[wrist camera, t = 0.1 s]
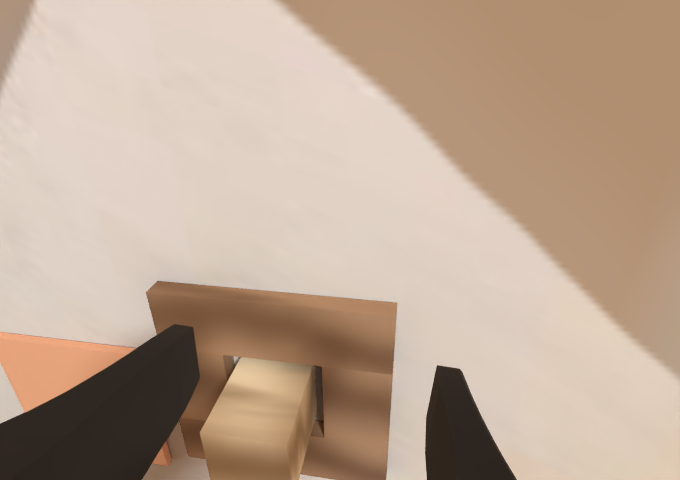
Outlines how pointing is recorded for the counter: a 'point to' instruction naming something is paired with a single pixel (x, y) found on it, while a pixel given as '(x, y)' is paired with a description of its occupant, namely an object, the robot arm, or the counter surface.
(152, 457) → the robot arm
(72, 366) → the tile
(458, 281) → the counter surface
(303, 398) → the birch block
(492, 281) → the counter surface
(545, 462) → the counter surface
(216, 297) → the pocket plate
